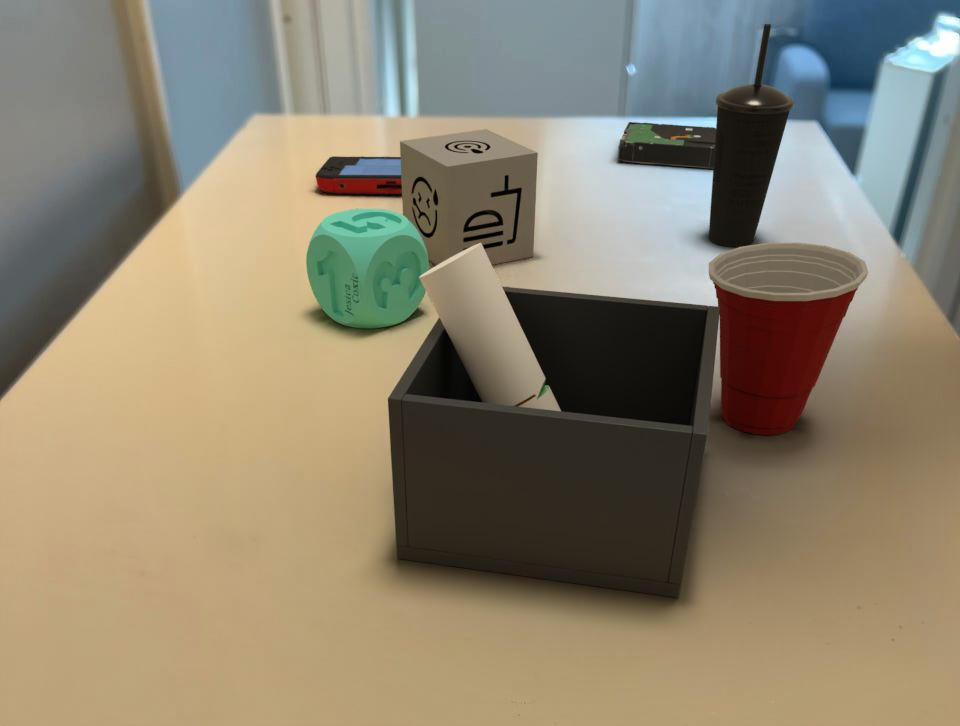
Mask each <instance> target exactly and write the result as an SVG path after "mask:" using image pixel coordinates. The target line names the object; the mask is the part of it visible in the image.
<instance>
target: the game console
mask: <svg viewBox="0 0 960 726" xmlns="http://www.w3.org/2000/svg"><path fill="white" fill-rule="evenodd" d="M315 179H316V180H315V181H316V183H317V187H318V189H319V190H320V191H322V192H323V193H325V194H332V195H402V180H401V156H336V155H335V156H330V157H329V158H328V159H327V160H326V161H325V163H324V164H322V166H321V167H320V168H319V169H318V171H317V172H316V174H315Z"/></svg>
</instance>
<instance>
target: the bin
mask: <svg viewBox="0 0 960 726" xmlns="http://www.w3.org/2000/svg"><path fill="white" fill-rule="evenodd" d="M502 288H503V290H504V292H505V294H506V296H507V298H508V300H509V303H510V305H511V307H512V309H513V311H514V313H515V315H516V317H517V319H518V321H519V324H520V326H521V328H522V330H523V332H524V334H525V336H526V338H527V340H528V343H529V345H530V347H531V349H532V351H533V353H534V355H535V357H536V359H537V361H538V364H539V366H540V368H541V370H542V372H543V374H544V376H545V378H546V381H545V385H548V386H549V387H550V389H551V391H552V393H553V395H554V397H555V399H556V401H557V404H558V406H559V408H560V410H561V411H553V410H544V409H535V408H526V407H518V406H509V405H500V404H491V403H483V402H482V400H481V398H480V396H479V394H478V393H477V391H476V389H475V387H474V385H473V383H472V381H471V379H470V377H469V375H468V373H467V371H466V369H465V367H464V365H463V363H462V361H461V359H460V357H459V355H458V353H457V351H456V349H455V347H454V345H453V343H452V341H451V339H450V337H449V335H448V333H447V331H446V329H445V327H444V325H443V323H442V322H441V320H440V318H439V317H438V318H437V320H436V322H435V323H434V325H433V326H432V328H431V330H430V331H429V333H428V334H427V336H426V337H425V339H424V340H423V342H422V344H421V345H420V347H419V348H418V350H417V351H416V353H415V354H414V356H413V358H412V360H411V361H410V363H409V364H408V366H407V367H406V369H405V370H404V372H403V373H402V376H401V377H400V378H399V380H398V382H397V383H396V385H395V386H394V388H393V390H392V391H391V392H390V394H389V396H388V398H387V409H388V410H387V411H388V427H389V443H390V444H389V445H390V462H391V463H390V464H391V479H392V496H393V512H394V513H393V514H394V529H395V530H394V531H395V532H394V533H395V546H396V558H397V559H399V560H406V561H411V562H412V561H413V562H421V563H426V564H427V563H428V564H435V565H442V566H448V567H454V568H455V567H457V568H463V569H469V570H470V569H471V570H479V571H485V572H491V573H498V574H506V575H514V576H520V577H521V576H522V577H527V578H535V579H541V580H549V581H557V582H563V583H570V584H578V585H586V586H592V587H599V588H605V589H613V590H620V591H621V590H622V591H627V592H634V593H642V594H647V595H655V596H664V597H671V598H676V599H677V598H680V594H681V593H680V592H681V588H682V582H683V576H684V571H685V565H686V560H687V554H688V549H689V542H690V537H691V533H692V531H691V530H692V526H693V519H694V514H695V508H696V504H697V497H698V492H699V487H700V486H699V485H700V480H701V475H702V470H703V463H704V457H705V451H706V447H707V440H708V435H709V426H710V415H711V414H710V413H711V406H712V405H711V404H712V394H713V383H714V373H715V363H716V353H717V343H718V334H719V325H720V307H718V305H717V306H716V305H715V306H714V305H705V304H695V303H684V302H673V301H664V300H663V301H662V300H651V299H643V298H642V299H641V298H630V297H621V296H620V297H619V296H609V295H598V294H589V293H588V294H587V293H577V292H576V293H575V292H567V291H566V292H565V291H555V290H545V289H544V290H543V289H532V288H523V287H511V286H502Z"/></svg>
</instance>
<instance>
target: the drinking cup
mask: <svg viewBox="0 0 960 726" xmlns="http://www.w3.org/2000/svg"><path fill="white" fill-rule="evenodd" d="M771 30H772V24H771V23H764V24H763V30H762V34H761V39H760V40H761V41H760V47H759V53H758V58H757V64H756V71H755V76H754V83H749V84H747V83H746V84H741V85H738V86H735V87H733V88H730V89H729V90H726V91H724V92H721V93H719V94H717V95H716V96H715V105H716V106H717V110H716V112H717V113H716V126H715V128H716V138H715V153H714V167H713V168H712V170H713V171H712V183H711V197H710V210H709V211H710V212H709V224H708V226H709V227H708V239H709V241H710V242H712V243H714V244H716V245H719V246H725V247H732V248H733V247H735V248H739V247H743V246H750V245H753V243H754V241H755V237H756V235H757V231H758V226H759V223H760V219H761V215H762V212H763V208H764V205H765V202H766V197H767V195H768V190H769V186H770V184H771V180H772V176H773V172H774V169H775V165H776V162H777V158H778V155H779V151H780V148H781V143H782V141H783V137H784V134H785V130H786V125H787V122H788V118H789V116H790V112H791V111H792V110H793V109H794V106H795V100H794V99H793V98H792V97H791V96H788V95H786V94H785V93H784V92H783V91H781V90H780V89H777V88H776V87H773V86H770V85H767V84H762V83H763V82H762V81H763V76H764V70H765V64H766V58H767V53H768V46H769V42H770V41H769V40H770V35H771Z"/></svg>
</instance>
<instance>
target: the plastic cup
mask: <svg viewBox="0 0 960 726" xmlns="http://www.w3.org/2000/svg"><path fill="white" fill-rule="evenodd" d="M866 263H867V262H866V261H865V260H863V259H862V258H860V257H858V256H856V255H855V254H854V253H852V252H850V251H846V250H842V249H839V248H835V247H832V246H829V245H823V244H812V243H803V242H764V243H757V244H750V245H747V246H740V247H735V248H732V249H730V250H727V251H723V252H721V253H719V254H718V255H717V256H715V257H714V258H713V259H711V261H708V276H709V280H710V281H712V284H713V285H714V290H715V298H716V299H717V307H720V314H719V377H720V379H721V380H720V410H721V417H722V419H723V420H724V421H725V423H726V424H727V425H729V426H731V427H732V428H734V429H736V430H738V431H741V432H744V433H747V434H752V435H761V436H773V435H781V434H783V433H786V432H789V431H791V430H792V429H793V428H795V425H796V424H797V422H798V420H799V419H800V418H801V416H802V414H803V412H804V409H805V407H806V405H807V402H808V400H809V397H810V395H811V393H812V390H813V389H814V387H816V384H817V382H818V380H819V377H820V375H821V372H822V370H823V368H824V365H825V362H826V360H827V358H828V356H829V353H830V351H831V348H832V345H833V344H834V341H835V340H836V336H837V335H838V331H839V330H840V327H841V324H842V322H843V319H844V318H846V315H847V313H848V310H849V307H850V305H851V303H852V301H853V300H854V297H855V294H856V292H857V291H858V290H859V287H860V286H861V284H863V282H864V281H865V280H866V279H867V276H868V275H869V269H868V266H867V264H866Z"/></svg>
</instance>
